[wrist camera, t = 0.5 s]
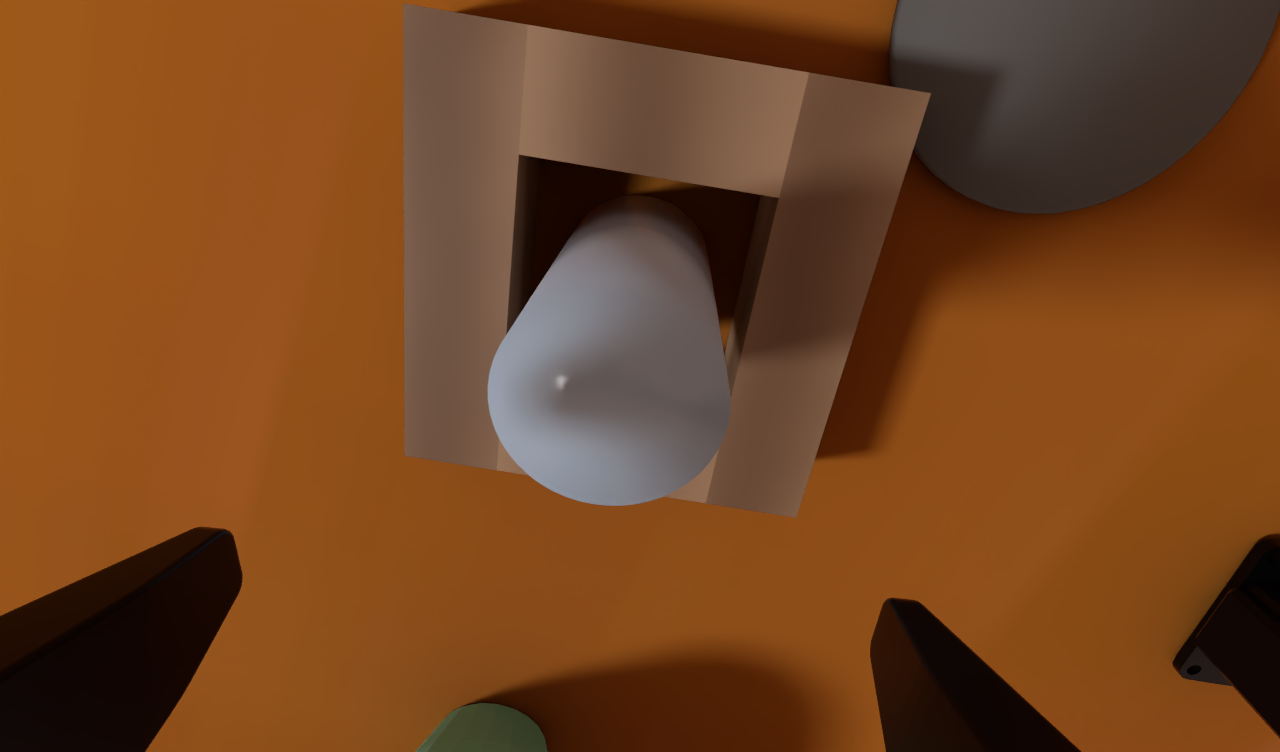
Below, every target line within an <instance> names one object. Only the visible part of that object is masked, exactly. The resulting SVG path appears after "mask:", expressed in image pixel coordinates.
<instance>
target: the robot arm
mask: <svg viewBox="0 0 1280 752" xmlns="http://www.w3.org/2000/svg"><path fill="white" fill-rule="evenodd" d="M241 585H242V570H241V566H240V561H239V557H238V553H237V549H236V544H235V540H234V537H233V535H232V533H231V532H230V531H228V530H226V529H220V528H210V527H197V528H194V529H191V530H189V531H187V532H184V533H182V534H180V535H178V536H176V537H173V538H171V539H169V540H167V541H165V542H162V543H160V544H158V545H156V546H154V547H151V548H149V549H147V550H145V551H143V552H140V553H138V554H136V555H134V556H132V557H129V558H127V559H125V560H123V561H120V562H118V563H116V564H114V565H112V566H109V567H107V568H105V569H103V570H101V571H98V572H96V573H94V574H92V575H90V576H87V577H85V578H83V579H81V580H79V581H76V582H74V583H72V584H70V585H67V586H65V587H63V588H61V589H59V590H56V591H54V592H52V593H50V594H48V595H45V596H43V597H41V598H39V599H37V600H34V601H32V602H30V603H28V604H26V605H23V606H21V607H19V608H17V609H15V610H12V611H10V612H8V613H6V614H3V615H1V616H0V752H145V751H146V750H147V748H148V747H149V745H150V744H151V742H152V741H153V739H154V738H155V736H156V735H157V733H158V732H159V730H160V729H161V727H162V726H163V725H164V723H165V722H166V720H167V719H168V717H169V716H170V714H171V713H172V711H173V709H174V708H175V706H176V705H177V703H178V702H179V700H180V699H181V697H182V695H183V694H184V692H185V690H186V688H187V687H188V685H189V683H190V682H191V680H192V678H193V676H194V674H195V673H196V671H197V669H198V667H199V665H200V663H201V662H202V660H203V658H204V656H205V654H206V652H207V651H208V649H209V647H210V645H211V643H212V641H213V640H214V638H215V636H216V634H217V632H218V631H219V629H220V627H221V625H222V623H223V621H224V620H225V618H226V616H227V614H228V612H229V610H230V609H231V607H232V605H233V603H234V601H235V599H236V598H237V596H238V594H239V591H240V589H241ZM870 658H871V664H872V670H873V676H874V682H875V688H876V694H877V700H878V706H879V712H880V718H881V724H882V730H883V736H884V742H885V748H886V752H1081V751H1080V750H1079V749H1078V748H1077V747H1076V746H1075V745H1074V744H1073V743H1071V742H1070V741H1069V740H1068V739H1067V738H1066V737H1065V736H1064V735H1063V734H1062V733H1061V732H1060V731H1058V730H1057V729H1056V728H1055V727H1054V726H1053V725H1052V724H1051V723H1050V722H1049V721H1048V720H1047V719H1046V718H1044V717H1043V716H1042V715H1041V714H1040V713H1039V712H1038V711H1037V710H1036V709H1035V708H1034V707H1033V706H1032V705H1030V704H1029V703H1028V702H1027V701H1026V700H1025V699H1024V698H1023V697H1022V696H1021V695H1020V694H1019V693H1017V692H1016V691H1015V690H1014V689H1013V688H1012V687H1011V686H1010V685H1009V684H1008V683H1007V682H1006V681H1005V680H1003V679H1002V678H1001V677H1000V676H999V675H998V674H997V673H996V672H995V671H994V670H993V669H992V668H991V667H989V666H988V665H987V664H986V663H985V662H984V661H983V660H982V659H981V658H980V657H979V656H978V655H976V654H975V653H974V652H973V651H972V650H971V649H970V648H969V647H968V646H967V645H966V644H965V643H964V642H962V641H961V640H960V639H959V638H958V637H957V636H956V635H955V634H954V633H953V632H952V631H951V630H949V629H948V628H947V627H946V626H945V625H944V624H943V623H942V622H941V621H940V620H939V619H938V618H937V617H935V616H934V615H933V614H932V613H931V612H930V611H929V610H928V609H927V608H926V607H925V606H924V605H922V604H921V603H920V602H918V601H915V600H909V599H900V598H889V599H887V600H886V601H885V602H884V604H883V606H882V609H881V612H880V615H879V618H878V621H877V624H876V627H875V631H874V634H873V637H872V640H871V646H870ZM1173 667H1174V668H1175V669H1176V671H1177V672H1178V673H1179V674H1180V675H1181V676H1182V677H1183V678H1185V679H1190V680H1196V681H1202V682H1209V683H1215V684H1222V685H1228V686H1233V687H1234V688H1235V689H1236V690H1237V691H1238V693H1239V694H1240V695H1241V696H1242V697H1243V698H1244V699H1245V700H1246V701H1247V703H1248V704H1249V705H1250V706H1251V707H1252V708H1253V709H1254V710H1255V711H1256V713H1257V714H1258V715H1259V716H1260V717H1261V718H1262V719H1263V720H1264V721H1265V723H1266V724H1267V725H1268V726H1269V727H1270V728H1271V729H1272V730H1273V732H1274V733H1275V734H1276V735H1277V736H1278V737H1279V738H1280V540H1276V539H1268V540H1264V541H1262V542H1260V543H1258V544H1257V545H1256V546H1255V547H1254V548H1253V549H1252V550H1251V552H1250V553H1249V554H1248V556H1247V557H1246V559H1245V560H1244V562H1243V563H1242V564H1241V566H1240V567H1239V569H1238V570H1237V571H1236V573H1235V574H1234V576H1233V577H1232V578H1231V580H1230V581H1229V583H1228V584H1227V585H1226V587H1225V588H1224V590H1223V591H1222V593H1221V594H1220V595H1219V597H1218V598H1217V600H1216V601H1215V602H1214V604H1213V605H1212V607H1211V608H1210V609H1209V611H1208V612H1207V614H1206V615H1205V616H1204V618H1203V619H1202V621H1201V622H1200V624H1199V625H1198V626H1197V628H1196V629H1195V631H1194V632H1193V633H1192V635H1191V636H1190V638H1189V639H1188V640H1187V642H1186V643H1185V645H1184V646H1183V647H1182V649H1181V650H1180V652H1179V653H1178V655H1177V656H1176V657H1175V659H1174V661H1173Z"/></svg>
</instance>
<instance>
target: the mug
mask: <svg viewBox="0 0 1280 752" xmlns="http://www.w3.org/2000/svg"><path fill="white" fill-rule="evenodd" d="M416 752H548V751H547V746H546V741H545V737H544V735H543V733H542V731H541V729H540V727H539V726H538V725H537V724H536V723H535V722H534V721H533V720H532V719H531V718H530V717H529V716H527V715H525V714H523V713H521V712H520V711H518V710H516V709H514V708H510V707H507V706H503V705H500V704H492V703H476V704H471V705H466V706H462V707H460V708H458V709H456V710H454V711H452V712H451V713H450V714H449V715H448V716H447V717H446V718H445V719H444V720H443V721H442V722H441V723H440V725H439V726H438V727H437V728H436V729H435V730H434V731H433V732H432V734H431V735H430V736H429V737H428V738H427V739H426V740H425V741H424V743H423V744H422V745H421V746H420V747H419V748H418V749H417V750H416Z"/></svg>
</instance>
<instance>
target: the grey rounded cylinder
mask: <svg viewBox="0 0 1280 752" xmlns="http://www.w3.org/2000/svg"><path fill="white" fill-rule="evenodd" d="M730 399H731V397H730V389H729V382H728V375H727V369H726V363H725V357H724V351H723V344H722V338H721V332H720V326H719V319H718V313H717V307H716V301H715V295H714V288H713V282H712V276H711V270H710V263H709V257H708V252H707V248H706V244H705V242H704V239H703V237H702V235H701V233H700V231H699V230H698V228H697V226H696V225H695V224H694V223H693V221H692V220H691V219H690V218H689V217H688V216H687V215H686V214H685V213H684V212H682V211H681V210H680V209H678V208H677V207H676V206H674V205H672V204H670V203H668V202H666V201H664V200H661V199H658V198H654V197H650V196H643V195H628V196H622V197H617V198H614V199H611V200H608V201H606V202H604V203H602V204H600V205H599V206H597V207H596V208H594V209H593V210H591V211H590V212H589V213H588V214H587V215H586V216H585V217H584V218H583V219H582V220H581V221H580V222H579V224H578V225H577V227H576V228H575V230H574V231H573V233H572V235H571V236H570V238H569V239H568V241H567V242H566V244H565V245H564V247H563V248H562V250H561V251H560V253H559V255H558V256H557V258H556V259H555V261H554V262H553V264H552V265H551V267H550V268H549V270H548V272H547V273H546V275H545V276H544V278H543V279H542V281H541V282H540V284H539V285H538V287H537V289H536V290H535V292H534V293H533V295H532V296H531V298H530V299H529V301H528V302H527V304H526V305H525V307H524V309H523V310H522V312H521V313H520V315H519V316H518V318H517V319H516V321H515V322H514V324H513V326H512V327H511V329H510V330H509V332H508V333H507V335H506V336H505V338H504V339H503V341H502V342H501V344H500V346H499V348H498V350H497V352H496V354H495V356H494V359H493V362H492V366H491V369H490V373H489V380H488V405H489V411H490V416H491V419H492V422H493V426H494V429H495V431H496V433H497V435H498V437H499V439H500V441H501V443H502V444H503V446H504V448H505V449H506V451H507V452H508V454H509V455H510V456H511V457H512V459H513V460H514V461H515V462H516V463H517V465H518V466H520V467H521V468H522V469H523V470H524V471H525V472H526V473H527V474H528V475H529V476H531V477H532V478H533V479H535V480H536V481H537V482H539V483H540V484H542V485H544V486H545V487H547V488H549V489H550V490H552V491H554V492H556V493H559V494H561V495H563V496H565V497H568V498H571V499H575V500H578V501H581V502H586V503H591V504H598V505H607V506H623V505H632V504H639V503H643V502H648V501H652V500H655V499H658V498H660V497H663V496H666V495H668V494H670V493H672V492H674V491H676V490H678V489H680V488H681V487H683V486H684V485H686V484H687V483H689V482H690V481H691V480H692V479H694V478H695V477H696V476H697V475H698V474H700V473H701V472H702V470H703V469H704V468H705V467H706V466H707V465H708V464H709V463H710V461H711V460H712V458H713V457H714V455H715V454H716V452H717V451H718V449H719V447H720V445H721V443H722V441H723V439H724V436H725V433H726V430H727V427H728V422H729V416H730Z"/></svg>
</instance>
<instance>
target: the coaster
mask: <svg viewBox="0 0 1280 752" xmlns="http://www.w3.org/2000/svg"><path fill="white" fill-rule="evenodd" d="M1279 11H1280V0H898V1H897V5H896V10H895V14H894V19H893V23H892V28H891V38H890V47H889V79H890V86H891V87H897V88H903V89H909V90H914V91H920V92H926V93H931V95H930V98H929V101H928V104H927V108H926V111H925V114H924V117H923V120H922V123H921V127H920V130H919V133H918V136H917V139H916V142H915V145H914V149H913V150H914V152H915V154H916V155H917V157H918V158H919V159H920V160H921V162H922V163H923V164H924V165H925V166H926V167H927V168H928V170H929V171H930V172H931V173H932V174H933V175H935V176H936V177H937V178H938V179H939V180H941V181H942V182H943V183H944V184H945V185H947V186H948V187H950V188H952V189H953V190H955V191H957V192H958V193H960V194H962V195H964V196H966V197H968V198H970V199H973V200H975V201H978V202H980V203H982V204H985V205H987V206H990V207H993V208H997V209H1002V210H1006V211H1010V212H1018V213H1028V214H1047V213H1060V212H1066V211H1073V210H1078V209H1082V208H1086V207H1089V206H1093V205H1096V204H1100V203H1103V202H1105V201H1108V200H1110V199H1113V198H1115V197H1118V196H1120V195H1123V194H1125V193H1127V192H1129V191H1131V190H1133V189H1135V188H1137V187H1138V186H1140V185H1142V184H1144V183H1146V182H1148V181H1149V180H1151V179H1152V178H1154V177H1155V176H1157V175H1158V174H1160V173H1162V172H1163V171H1165V170H1166V169H1168V168H1169V167H1170V166H1172V165H1173V164H1174V163H1175V162H1177V161H1178V160H1179V159H1180V158H1182V157H1183V156H1184V155H1185V154H1187V153H1188V152H1189V151H1190V150H1191V149H1192V148H1193V147H1194V146H1196V145H1197V144H1198V143H1199V142H1200V141H1201V140H1202V139H1203V138H1204V137H1205V136H1206V135H1207V134H1208V133H1209V132H1210V131H1211V130H1212V129H1213V128H1214V126H1215V125H1216V124H1217V123H1218V122H1219V121H1220V119H1221V118H1222V117H1223V116H1224V115H1225V114H1226V112H1227V111H1228V110H1229V109H1230V107H1231V106H1232V105H1233V103H1234V102H1235V100H1236V99H1237V97H1238V96H1239V95H1240V93H1241V92H1242V90H1243V89H1244V88H1245V86H1246V84H1247V83H1248V81H1249V79H1250V77H1251V76H1252V74H1253V72H1254V70H1255V69H1256V67H1257V65H1258V63H1259V62H1260V60H1261V58H1262V55H1263V53H1264V51H1265V49H1266V46H1267V44H1268V42H1269V40H1270V37H1271V35H1272V32H1273V29H1274V26H1275V23H1276V20H1277V17H1278V14H1279Z"/></svg>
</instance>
